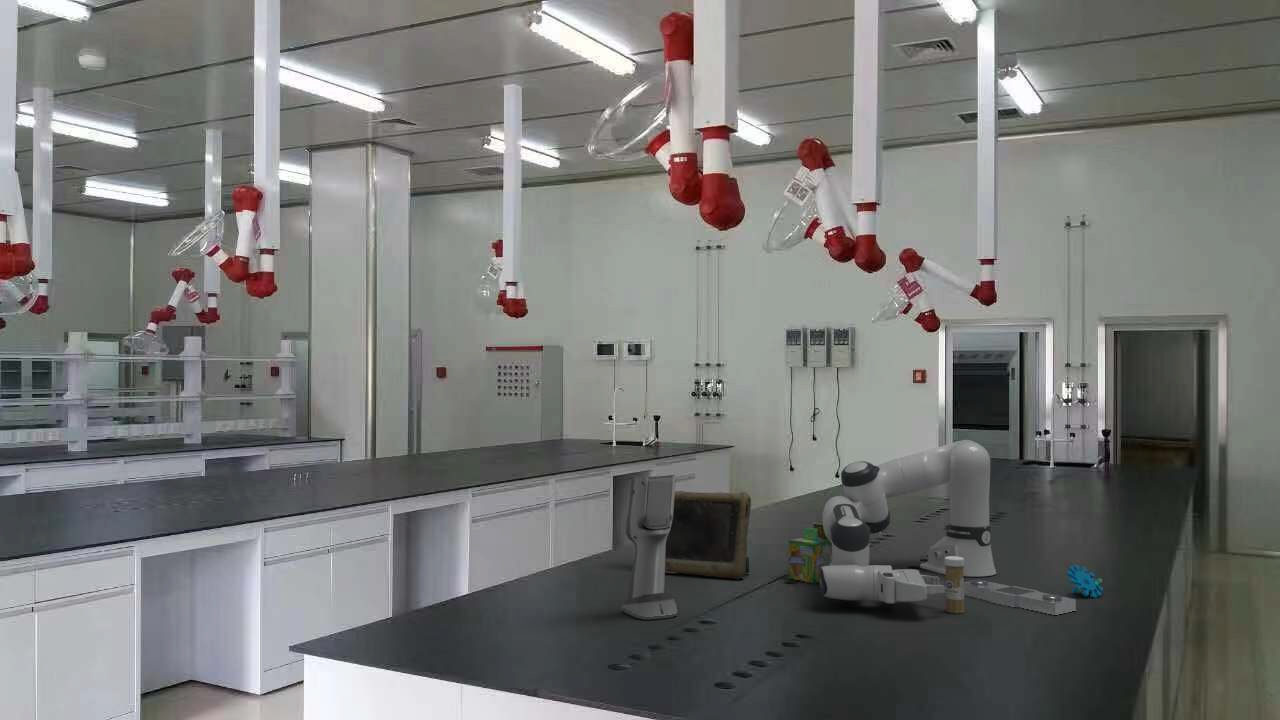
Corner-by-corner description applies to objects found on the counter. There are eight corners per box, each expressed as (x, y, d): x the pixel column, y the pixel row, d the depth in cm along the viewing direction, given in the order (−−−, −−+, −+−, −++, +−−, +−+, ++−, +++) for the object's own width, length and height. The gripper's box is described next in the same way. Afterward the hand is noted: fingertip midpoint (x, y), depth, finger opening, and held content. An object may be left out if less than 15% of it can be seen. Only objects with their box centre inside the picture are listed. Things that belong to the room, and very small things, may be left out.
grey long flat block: (955, 594, 261) (955, 581, 261) (980, 590, 266) (979, 576, 266) (1053, 616, 236) (1052, 601, 236) (1078, 611, 241) (1077, 596, 241)
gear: (1082, 594, 252) (1063, 562, 259) (1068, 607, 256) (1050, 575, 263) (1114, 596, 256) (1095, 564, 263) (1100, 609, 260) (1081, 577, 267)
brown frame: (638, 574, 294) (637, 491, 294) (655, 566, 307) (654, 486, 307) (743, 581, 282) (742, 495, 282) (756, 572, 295) (754, 489, 295)
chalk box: (788, 580, 283) (787, 528, 283) (805, 575, 290) (804, 525, 290) (815, 584, 277) (814, 531, 277) (832, 579, 283) (831, 528, 284)
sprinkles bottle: (942, 612, 242) (941, 557, 242) (950, 608, 246) (949, 555, 246) (960, 614, 239) (959, 559, 239) (967, 611, 243) (966, 556, 243)
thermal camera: (641, 622, 236) (639, 477, 237) (619, 611, 248) (617, 473, 248) (683, 616, 241) (681, 474, 242) (660, 606, 253) (658, 470, 253)
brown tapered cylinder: (821, 549, 333) (821, 519, 334) (848, 551, 328) (848, 521, 328) (804, 554, 323) (803, 524, 323) (832, 557, 317) (831, 526, 317)
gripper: (882, 587, 255) (937, 588, 253) (888, 605, 235) (947, 606, 233) (881, 562, 255) (936, 564, 253) (887, 578, 235) (947, 580, 233)
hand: (942, 584), depth 243 cm, fingers open, 8 cm apart
